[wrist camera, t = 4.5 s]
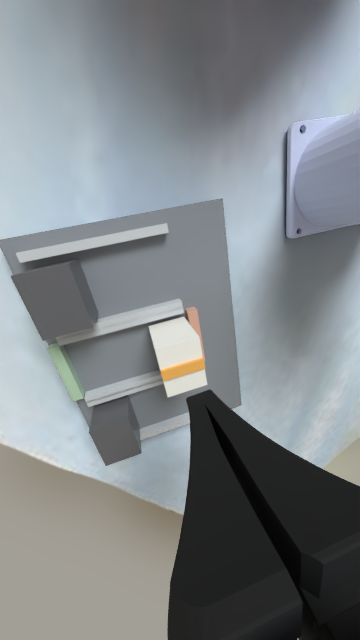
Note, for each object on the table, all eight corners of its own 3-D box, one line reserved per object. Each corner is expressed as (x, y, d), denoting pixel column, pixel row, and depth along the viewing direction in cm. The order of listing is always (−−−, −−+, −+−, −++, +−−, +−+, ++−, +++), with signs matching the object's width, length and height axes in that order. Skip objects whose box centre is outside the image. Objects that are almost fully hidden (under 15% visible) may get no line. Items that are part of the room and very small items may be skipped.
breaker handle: (183, 316, 18) (200, 338, 14) (191, 357, 19) (208, 386, 15) (148, 325, 17) (155, 351, 13) (159, 366, 19) (168, 399, 15)
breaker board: (216, 200, 17) (243, 189, 13) (236, 397, 24) (257, 427, 21) (6, 240, 14) (-37, 241, 10) (103, 442, 22) (99, 485, 18)
